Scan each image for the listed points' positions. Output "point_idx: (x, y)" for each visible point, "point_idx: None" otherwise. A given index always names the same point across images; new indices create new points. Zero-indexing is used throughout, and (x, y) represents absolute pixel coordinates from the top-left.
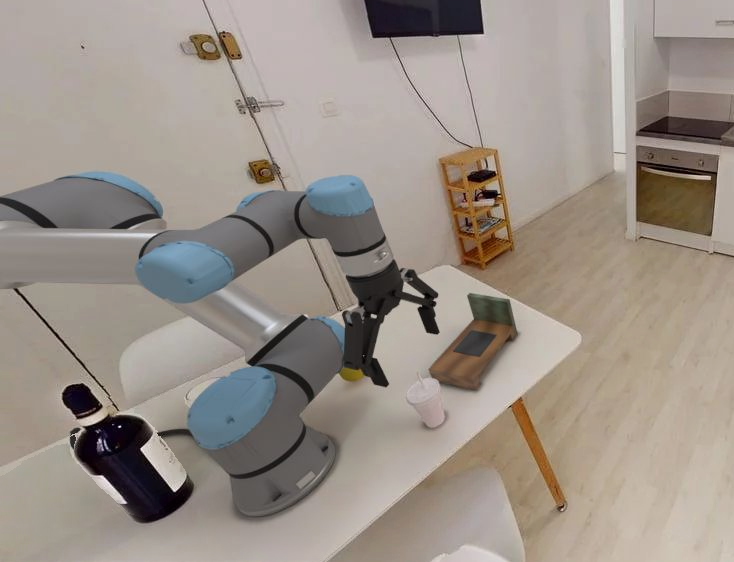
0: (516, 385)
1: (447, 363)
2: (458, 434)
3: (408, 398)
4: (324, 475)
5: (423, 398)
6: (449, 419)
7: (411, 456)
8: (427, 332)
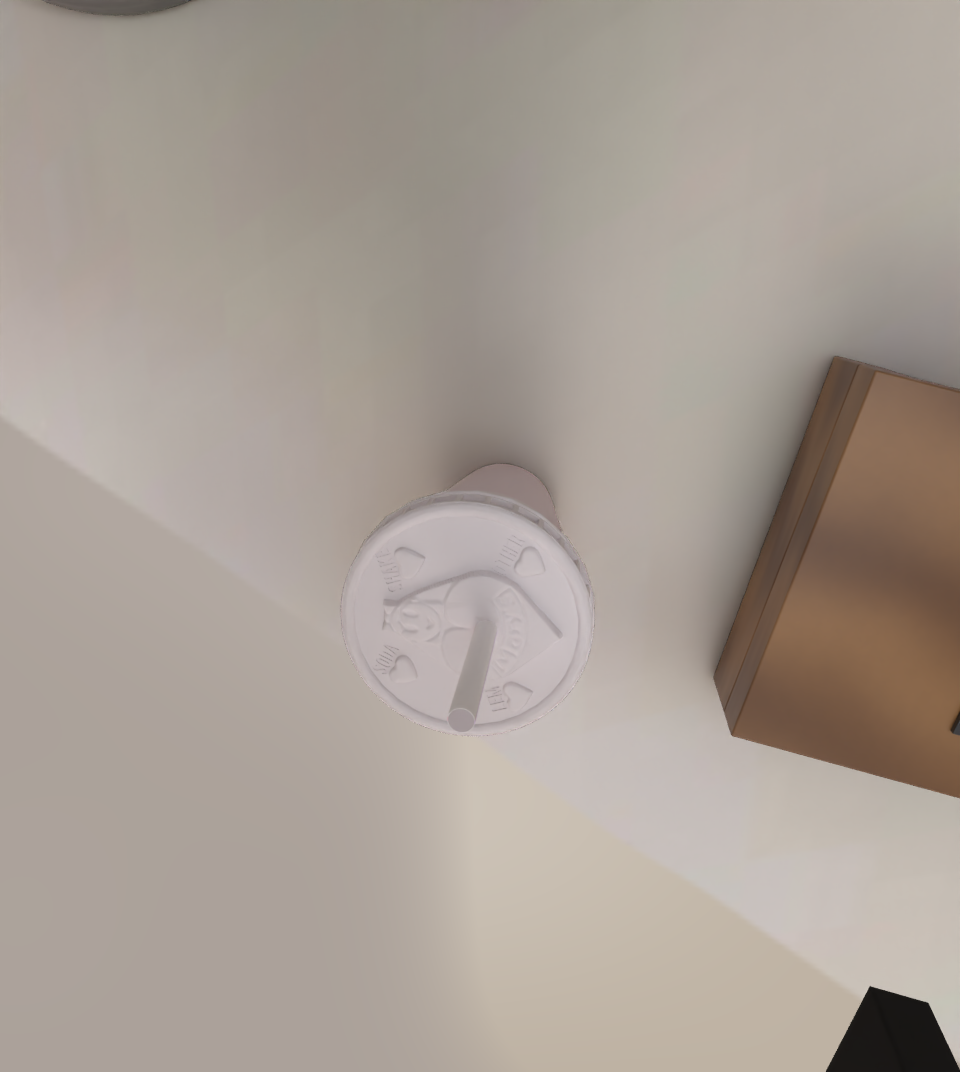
0: (729, 884)
1: (917, 509)
2: None
3: (378, 549)
4: (106, 11)
5: (389, 658)
6: None
7: (279, 476)
8: (865, 1011)
